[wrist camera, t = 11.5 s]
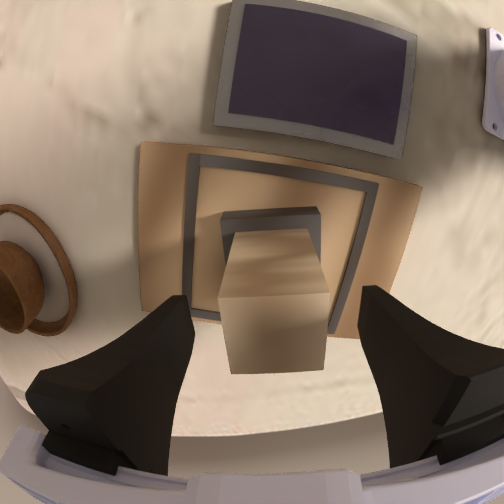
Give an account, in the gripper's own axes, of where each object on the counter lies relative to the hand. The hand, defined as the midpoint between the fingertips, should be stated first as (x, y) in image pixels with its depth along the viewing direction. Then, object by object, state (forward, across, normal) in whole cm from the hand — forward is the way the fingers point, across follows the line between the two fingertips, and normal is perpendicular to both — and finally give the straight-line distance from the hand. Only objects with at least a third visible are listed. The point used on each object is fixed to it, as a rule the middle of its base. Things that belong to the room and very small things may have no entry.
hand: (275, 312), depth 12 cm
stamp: (+6, 0, 0) cm, 6 cm away
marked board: (+6, 0, 0) cm, 6 cm away
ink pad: (+6, -3, -10) cm, 12 cm away
